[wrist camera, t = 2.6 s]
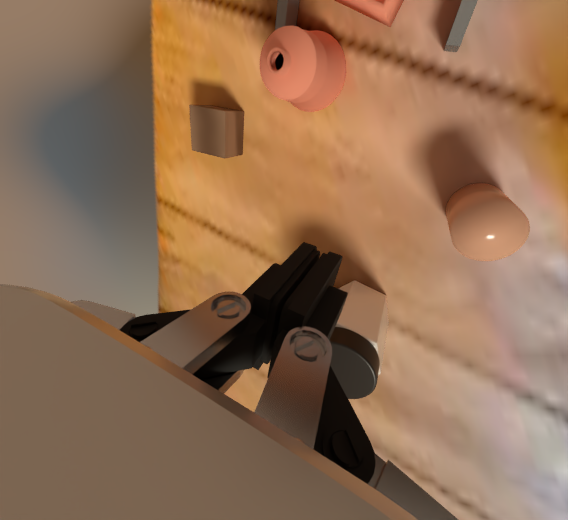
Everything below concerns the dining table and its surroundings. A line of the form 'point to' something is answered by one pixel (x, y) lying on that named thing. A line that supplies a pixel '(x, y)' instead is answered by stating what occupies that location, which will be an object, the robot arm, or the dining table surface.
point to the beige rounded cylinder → (485, 223)
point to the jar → (359, 340)
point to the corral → (289, 13)
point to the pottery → (313, 59)
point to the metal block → (217, 130)
